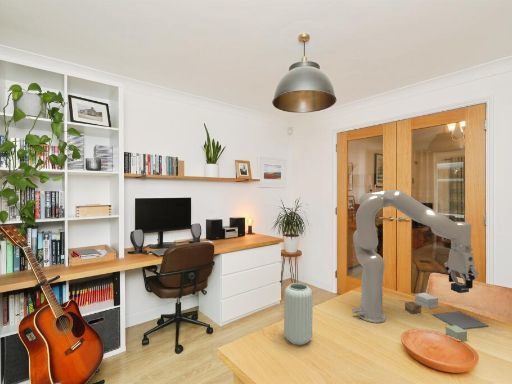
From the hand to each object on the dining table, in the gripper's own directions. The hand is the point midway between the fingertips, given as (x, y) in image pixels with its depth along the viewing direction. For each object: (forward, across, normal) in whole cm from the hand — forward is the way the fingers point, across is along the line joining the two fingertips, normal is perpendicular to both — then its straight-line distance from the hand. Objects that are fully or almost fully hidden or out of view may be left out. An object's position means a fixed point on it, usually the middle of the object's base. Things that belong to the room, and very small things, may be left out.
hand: (460, 284), depth 127 cm
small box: (+18, +18, +2) cm, 25 cm away
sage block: (+17, -12, +15) cm, 26 cm away
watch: (+3, 0, 0) cm, 3 cm away
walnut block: (+17, +12, +15) cm, 26 cm away
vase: (+17, -1, +81) cm, 83 cm away
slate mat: (+17, 0, 0) cm, 17 cm away
